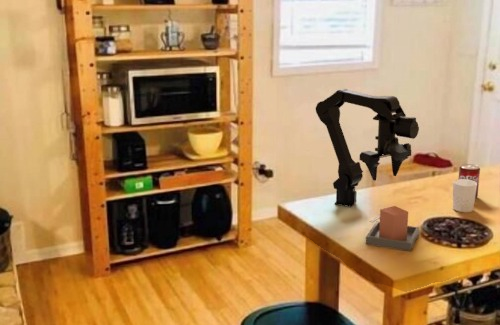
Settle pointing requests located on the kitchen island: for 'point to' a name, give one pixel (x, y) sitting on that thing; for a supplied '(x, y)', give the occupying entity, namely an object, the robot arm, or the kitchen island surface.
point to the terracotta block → (393, 223)
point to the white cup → (464, 195)
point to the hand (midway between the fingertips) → (384, 178)
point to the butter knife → (375, 218)
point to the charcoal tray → (404, 244)
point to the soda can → (470, 174)
